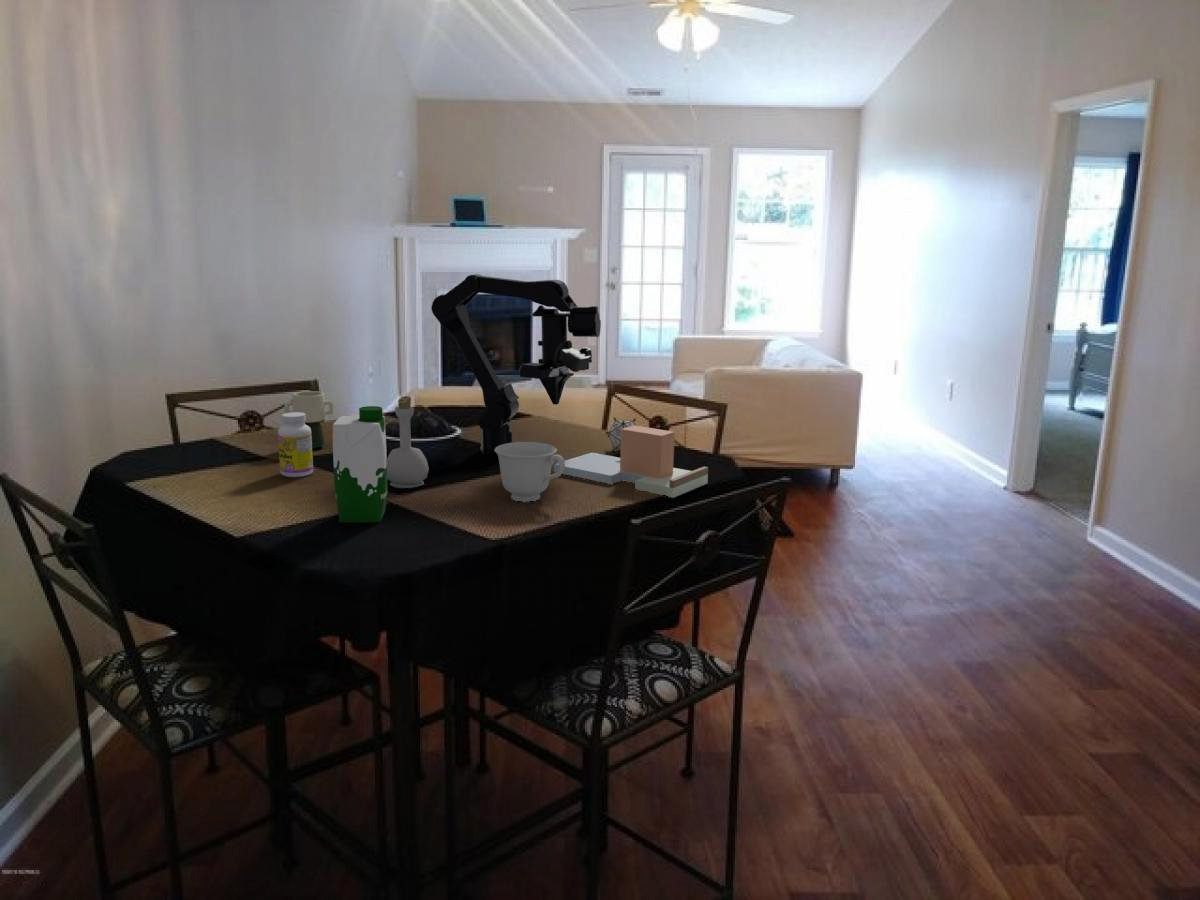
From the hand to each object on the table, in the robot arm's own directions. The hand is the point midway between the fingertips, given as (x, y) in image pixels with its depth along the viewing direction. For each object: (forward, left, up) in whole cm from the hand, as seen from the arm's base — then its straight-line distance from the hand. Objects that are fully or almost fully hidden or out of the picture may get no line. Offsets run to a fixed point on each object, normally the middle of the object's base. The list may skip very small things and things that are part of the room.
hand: (555, 404), depth 214 cm
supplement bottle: (-57, -7, -12) cm, 59 cm away
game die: (+17, +1, -12) cm, 21 cm away
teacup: (-12, -35, -12) cm, 39 cm away
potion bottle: (-35, -19, -12) cm, 42 cm away
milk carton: (-44, -40, -12) cm, 61 cm away
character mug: (-55, +17, -12) cm, 59 cm away
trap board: (+11, -23, -12) cm, 28 cm away
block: (+14, -26, -10) cm, 31 cm away
